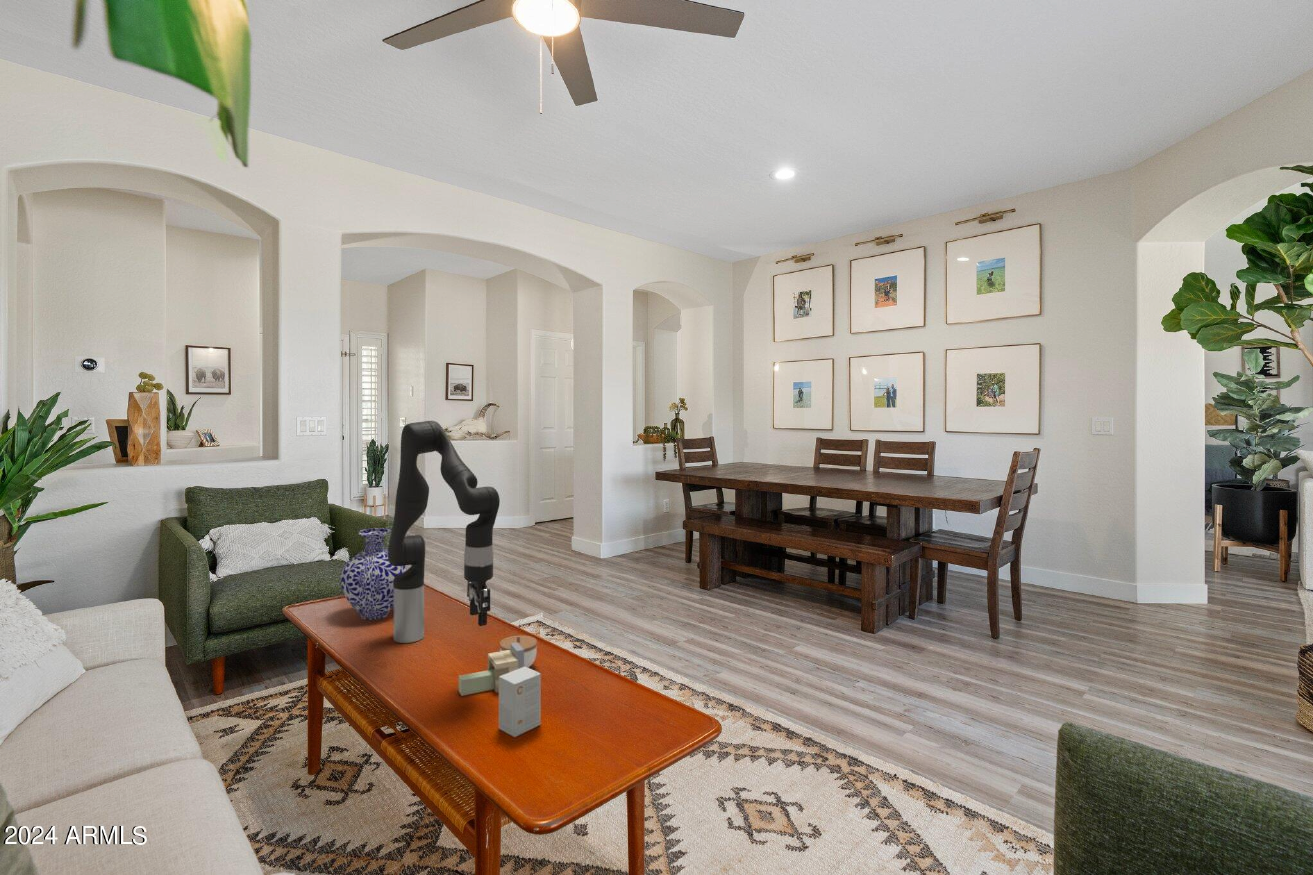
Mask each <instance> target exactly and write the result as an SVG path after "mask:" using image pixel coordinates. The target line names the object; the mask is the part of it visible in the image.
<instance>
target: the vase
mask: <svg viewBox="0 0 1313 875" xmlns="http://www.w3.org/2000/svg"><path fill="white" fill-rule="evenodd" d="M390 533H391V529H389V528H380V527H378V528H377V527H376V528H373V527H372V528H367V529H366V528H365V529H360V530H359V531H358V535H359V536H360V537H362V538H364V541H365V548H364V549H363V550H362V551H361V552H359V553H357V554H356V555H354V556H353V557H352V558H350V560H348V561H347V563H346V564H345V565H344V567H343V569H342V571H341V577H340V586H341V587H340V588H341V590H342V593H343V595H344V596H345V598H346V600H347V601H348V603H349V605H350V606H352V608H353V609H354V610H355V611H356V612H357V613H358V614H359V615H360V617H361V619H362V620H368V621H371V620H380V619H384V618H386V617H387V616H389V613H390V612H391V610H392V609H393V580H394V578H395V577H396V576H397V575H399V574H401V573H403V572H405V571H406V570H407V567H406V566H407V565H405V566H392V565H391V564H390V563H389V560H388V549H386V548H385V546H384V539H385V536H388V535H389V534H390Z"/></svg>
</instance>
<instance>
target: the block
mask: <svg viewBox="0 0 1313 875" xmlns="http://www.w3.org/2000/svg"><path fill="white" fill-rule="evenodd" d="M492 669H494V689H493V690H494V692H495V693H496V694H497V693H499V676H502V675H504V674H507V673H509V672H512V671H514V670H517V669H518V660H517V658H516V657H515V656H514V655H513V654H512V653H511V651H510V650H505V651H500V650H499V651H495V652H490V653H489V652H488V653H487V670H492Z"/></svg>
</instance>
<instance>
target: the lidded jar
mask: <svg viewBox="0 0 1313 875" xmlns="http://www.w3.org/2000/svg"><path fill="white" fill-rule="evenodd" d="M516 642H518V644H519V645H520V646H521V647H522V648H523V649H524V667H527V668H530V667H531V666H532V665H533V664H534V661H535V660H536V657H537V651H538V650H537V649H538V639H536V638H535V637H533V636H530V635H513V636H507V637H505V638H503V639H502V640H500V642H499V652H500V651H505V650H510V643H516Z"/></svg>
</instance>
